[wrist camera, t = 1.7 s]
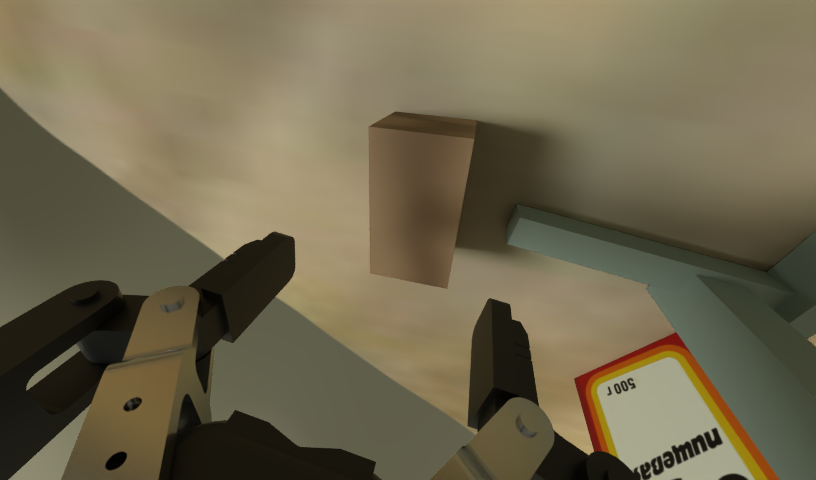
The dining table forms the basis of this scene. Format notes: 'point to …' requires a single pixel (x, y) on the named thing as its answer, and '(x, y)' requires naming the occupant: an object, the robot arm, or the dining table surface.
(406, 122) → the block
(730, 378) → the frame
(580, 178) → the dining table surface
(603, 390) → the baking soda box
